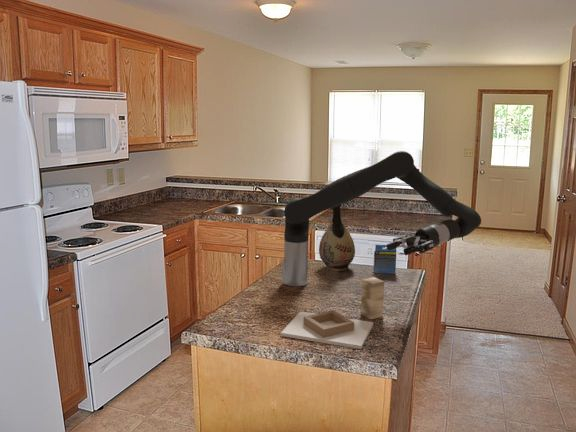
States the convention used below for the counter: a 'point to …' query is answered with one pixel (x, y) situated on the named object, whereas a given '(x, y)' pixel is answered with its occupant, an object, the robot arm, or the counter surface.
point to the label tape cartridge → (384, 260)
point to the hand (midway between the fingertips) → (395, 249)
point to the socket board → (336, 339)
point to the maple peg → (372, 298)
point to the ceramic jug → (336, 244)
